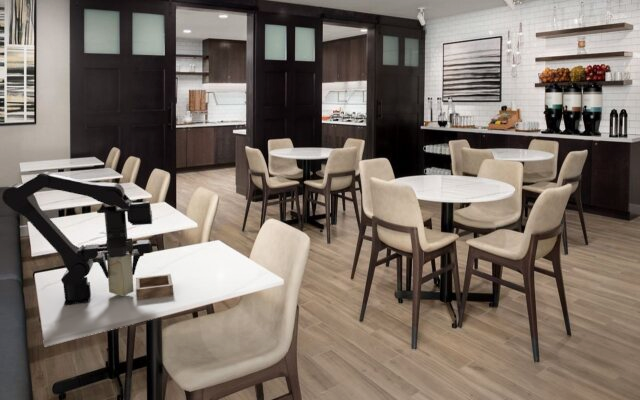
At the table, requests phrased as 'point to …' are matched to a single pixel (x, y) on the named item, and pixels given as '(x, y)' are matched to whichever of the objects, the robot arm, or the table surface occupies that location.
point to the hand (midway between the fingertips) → (120, 276)
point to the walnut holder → (154, 286)
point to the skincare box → (120, 274)
